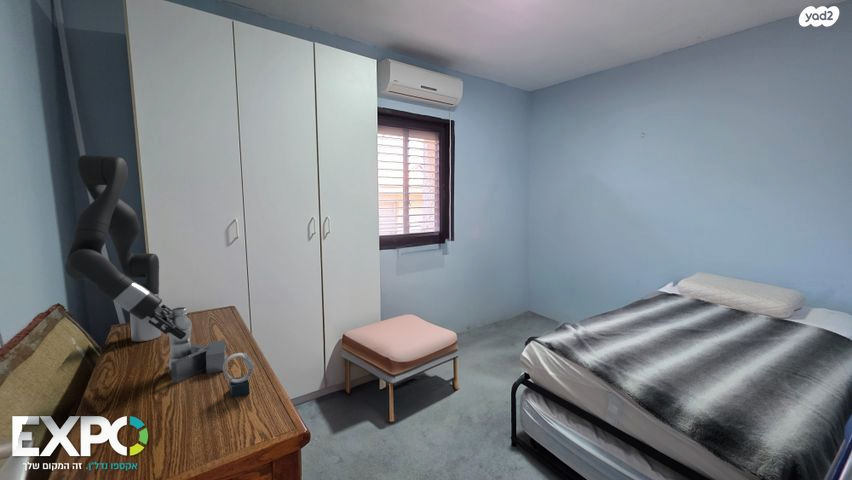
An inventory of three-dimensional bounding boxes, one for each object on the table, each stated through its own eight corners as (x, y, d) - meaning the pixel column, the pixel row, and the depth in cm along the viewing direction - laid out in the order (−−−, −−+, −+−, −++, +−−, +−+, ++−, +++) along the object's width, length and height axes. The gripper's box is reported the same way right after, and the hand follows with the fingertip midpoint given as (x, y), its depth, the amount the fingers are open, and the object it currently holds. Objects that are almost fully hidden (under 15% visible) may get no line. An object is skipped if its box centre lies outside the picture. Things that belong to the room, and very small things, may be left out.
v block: (179, 360, 122) (179, 343, 122) (226, 353, 128) (225, 336, 128) (171, 384, 106) (170, 364, 105) (224, 374, 112) (224, 356, 112)
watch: (257, 391, 102) (256, 354, 102) (224, 400, 98) (223, 360, 97) (253, 383, 107) (252, 347, 106) (222, 391, 102) (220, 353, 101)
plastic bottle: (181, 376, 111) (179, 312, 109) (163, 373, 112) (160, 310, 110) (198, 367, 117) (197, 306, 115) (181, 365, 118) (179, 305, 117)
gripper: (143, 296, 103) (193, 330, 109) (153, 286, 115) (197, 317, 122) (120, 317, 101) (172, 350, 107) (133, 304, 113) (179, 334, 120)
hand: (185, 332), depth 114 cm, fingers open, 8 cm apart
